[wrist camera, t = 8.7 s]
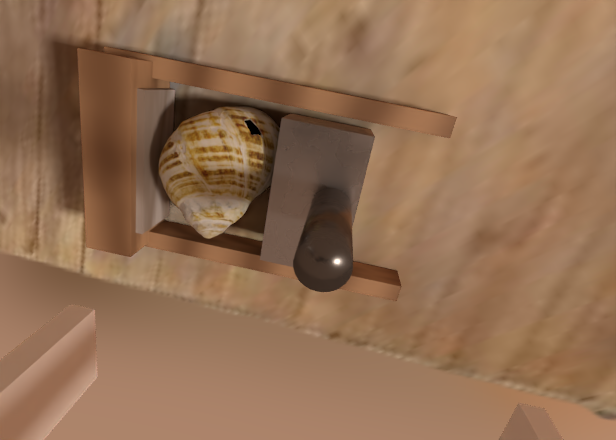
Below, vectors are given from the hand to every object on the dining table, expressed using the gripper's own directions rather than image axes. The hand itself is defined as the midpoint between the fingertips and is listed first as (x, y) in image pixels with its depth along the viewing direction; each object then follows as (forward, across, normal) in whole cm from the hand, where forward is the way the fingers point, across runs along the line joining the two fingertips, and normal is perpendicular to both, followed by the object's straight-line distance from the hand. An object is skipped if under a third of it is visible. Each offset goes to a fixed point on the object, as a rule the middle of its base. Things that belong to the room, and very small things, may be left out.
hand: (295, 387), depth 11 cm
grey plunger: (+23, -1, 0) cm, 23 cm away
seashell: (+24, -9, 0) cm, 26 cm away
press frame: (+24, -6, 0) cm, 24 cm away
